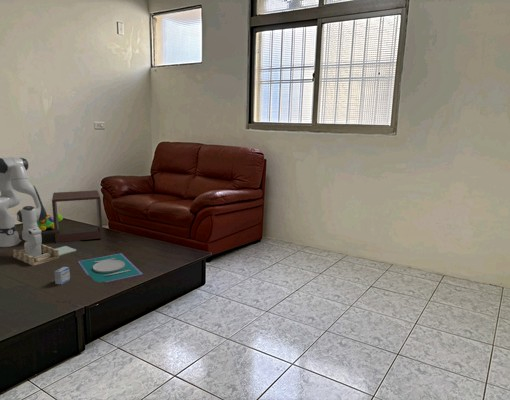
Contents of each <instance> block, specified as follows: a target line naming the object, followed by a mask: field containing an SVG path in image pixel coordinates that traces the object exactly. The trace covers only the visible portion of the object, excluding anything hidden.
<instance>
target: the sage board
mask: <svg viewBox="0 0 510 400" xmlns="http://www.w3.org/2000/svg"><path fill="white" fill-rule="evenodd" d="M55 249H56V250H58V252H59V257H60V256H63V255H67V254H70V253H73V252H76V251H77V249H76V248H72V247H70V246H67V245H63V246H59V247H56V248H55Z"/></svg>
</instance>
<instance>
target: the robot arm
mask: <svg viewBox="0 0 510 400" xmlns="http://www.w3.org/2000/svg"><path fill="white" fill-rule="evenodd" d="M28 169H29V162H28V160H27V159H26V158H23V157H0V248H8V247H13V246H16V245H17V246H18V245H19V244H20V243H21V242H22V240H24V241H25V242H27V241H29V242H30V243H33V245H34V246H33V249H37V247H36V246H37V245H39V244H43V243H42V241H43V240H42V239H43V237H42V230H41V229H40V228H39V227H38V225H37V221H43V220H44V219H45V218H46V217H47V215H48V214H47V210H46V209H45V207H44V205H43V202H42V199H41V196H40V194H39V192H38V190H37V188H36V186H34V185H33V184H31V182H30V180H29V179H30V178H29V174H28V172H27V171H28ZM15 191H16V192H17V193H22V194H26V195H29V196H31V198H32V200H33V202H34V205H35V207H34V206H31V205H26V206H23V207H22V209H19V210H18V211H17V212H16V220H17V221H18V222H19V223H21V224H22V227H23V228H22V230H21V238H22V240H21V239H20V235H19V231H17V227H16V225H15V218H14V215H12V214H11V213H9V211H8V209H11V208H15V207H16V206H18V205H19V204H20V202H21V198H20V195H18V194H17V193H16V192H15Z"/></svg>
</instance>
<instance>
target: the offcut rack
mask: <svg viewBox="0 0 510 400" xmlns="http://www.w3.org/2000/svg"><path fill="white" fill-rule="evenodd" d="M12 253H13V254H12V255H13V258H15V259H17V260H19V261H21V262H24V263H26V264H28V265H30V266H37V265H41V264H44V263H48V262H52V261H54V260H57V259H58V260H59V258H60V256H59V252H58V250H56V248H53V247H51V246H48V245H46V244H43V243H41V253H43V254H45V253H49V254H51V256H52V258H49V259H46V260H42V261H39V262H35V263H34V257H32V256H30V255H27V254H25V249H19V250H18V249H16V248H13V249H12Z"/></svg>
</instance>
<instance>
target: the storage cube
mask: <svg viewBox="0 0 510 400" xmlns="http://www.w3.org/2000/svg"><path fill="white" fill-rule="evenodd" d="M90 200H96V216H97V226H94V227H93V226H91V227H82V228H71V229H61V230H60V227H59V226H60V225H59V222H58V214H59V213H58V204H57V203H58V202H59V203H60V202H61V203H62V202H73V201H74V202H75V201H90ZM51 204H52V205H51V206H52V215H53V216H52V217H53V218H54V229H53V230H54V237H55V243H59V244H60V243H67V242H68V243H69V242H76V241H77V242H78V241H85V240H87V241H88V240H96V239H103V237H104V235H103V219H102V205H101V196H100V193H99V191H98V190H97V189H95V190H83V191H82V190H80V191H63V192H62V191H60V192H53V194H52V199H51Z"/></svg>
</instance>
